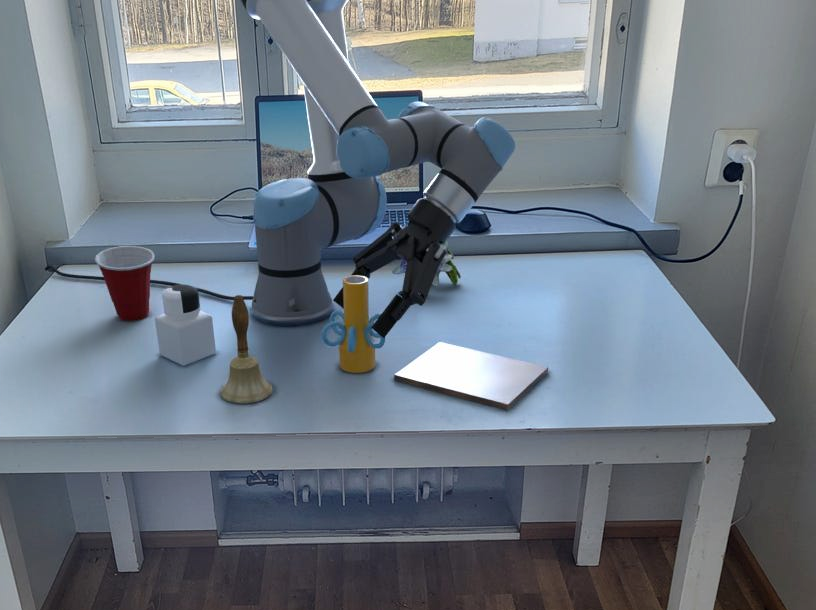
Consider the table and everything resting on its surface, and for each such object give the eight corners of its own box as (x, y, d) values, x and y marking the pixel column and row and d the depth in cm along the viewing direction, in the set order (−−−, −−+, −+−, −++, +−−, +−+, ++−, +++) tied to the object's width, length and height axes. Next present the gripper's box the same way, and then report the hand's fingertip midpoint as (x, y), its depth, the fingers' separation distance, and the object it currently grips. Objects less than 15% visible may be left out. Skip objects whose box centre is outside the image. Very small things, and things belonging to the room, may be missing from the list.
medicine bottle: (192, 342, 163) (184, 277, 157) (217, 353, 159) (209, 287, 152) (159, 355, 159) (149, 289, 153) (183, 367, 155) (174, 299, 148)
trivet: (394, 380, 148) (394, 374, 147) (439, 347, 158) (439, 341, 157) (507, 410, 138) (508, 404, 137) (548, 372, 148) (548, 367, 148)
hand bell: (224, 381, 150) (214, 287, 141) (275, 380, 149) (267, 286, 141) (217, 404, 143) (206, 308, 134) (270, 403, 142) (262, 306, 134)
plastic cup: (123, 332, 168) (113, 269, 162) (95, 316, 175) (83, 255, 169) (173, 315, 174) (165, 254, 168) (144, 301, 181) (135, 241, 175)
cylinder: (382, 384, 147) (382, 295, 139) (319, 380, 149) (315, 292, 140) (394, 352, 157) (394, 267, 149) (334, 349, 159) (331, 265, 151)
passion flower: (420, 316, 184) (385, 272, 178) (422, 287, 192) (389, 244, 186) (468, 288, 178) (433, 242, 172) (468, 260, 186) (435, 215, 180)
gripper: (497, 245, 138) (410, 358, 141) (414, 206, 157) (338, 306, 160) (469, 216, 133) (379, 333, 136) (386, 179, 153) (309, 282, 155)
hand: (357, 318), depth 148 cm, fingers open, 13 cm apart
